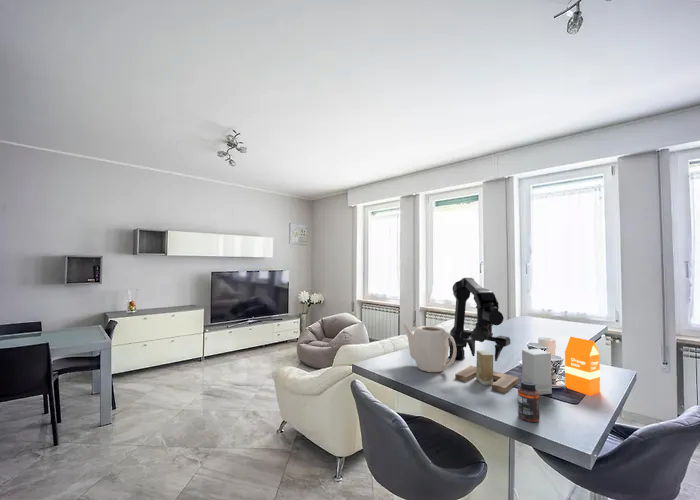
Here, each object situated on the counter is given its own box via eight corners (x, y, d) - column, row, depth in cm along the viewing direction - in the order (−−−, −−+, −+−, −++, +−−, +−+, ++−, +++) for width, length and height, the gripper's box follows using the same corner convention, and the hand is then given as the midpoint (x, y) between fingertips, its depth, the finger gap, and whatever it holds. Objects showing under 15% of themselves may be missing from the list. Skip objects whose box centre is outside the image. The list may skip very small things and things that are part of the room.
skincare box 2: (539, 387, 124) (539, 348, 125) (553, 394, 118) (553, 353, 119) (521, 388, 123) (521, 349, 124) (533, 395, 117) (533, 353, 117)
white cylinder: (550, 369, 146) (550, 337, 147) (558, 375, 140) (558, 341, 140) (535, 369, 147) (535, 337, 148) (543, 374, 140) (542, 340, 141)
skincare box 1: (475, 379, 132) (475, 350, 133) (485, 379, 133) (485, 350, 133) (483, 385, 126) (483, 354, 126) (493, 385, 126) (493, 354, 127)
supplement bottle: (537, 415, 101) (536, 380, 102) (541, 424, 95) (541, 387, 96) (516, 412, 103) (516, 377, 104) (519, 421, 97) (519, 384, 98)
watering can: (410, 358, 160) (410, 321, 160) (462, 370, 143) (462, 329, 144) (394, 366, 147) (394, 325, 148) (449, 380, 131) (449, 334, 131)
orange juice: (589, 395, 118) (589, 342, 119) (564, 387, 126) (564, 337, 126) (600, 392, 121) (599, 340, 122) (575, 384, 129) (575, 335, 130)
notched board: (455, 378, 132) (455, 374, 132) (471, 370, 144) (471, 365, 144) (505, 393, 118) (505, 388, 118) (518, 382, 130) (518, 377, 130)
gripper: (454, 319, 131) (454, 357, 130) (500, 326, 118) (501, 368, 117) (466, 316, 139) (465, 352, 138) (510, 323, 126) (510, 362, 125)
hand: (484, 358), depth 130 cm, fingers open, 9 cm apart
